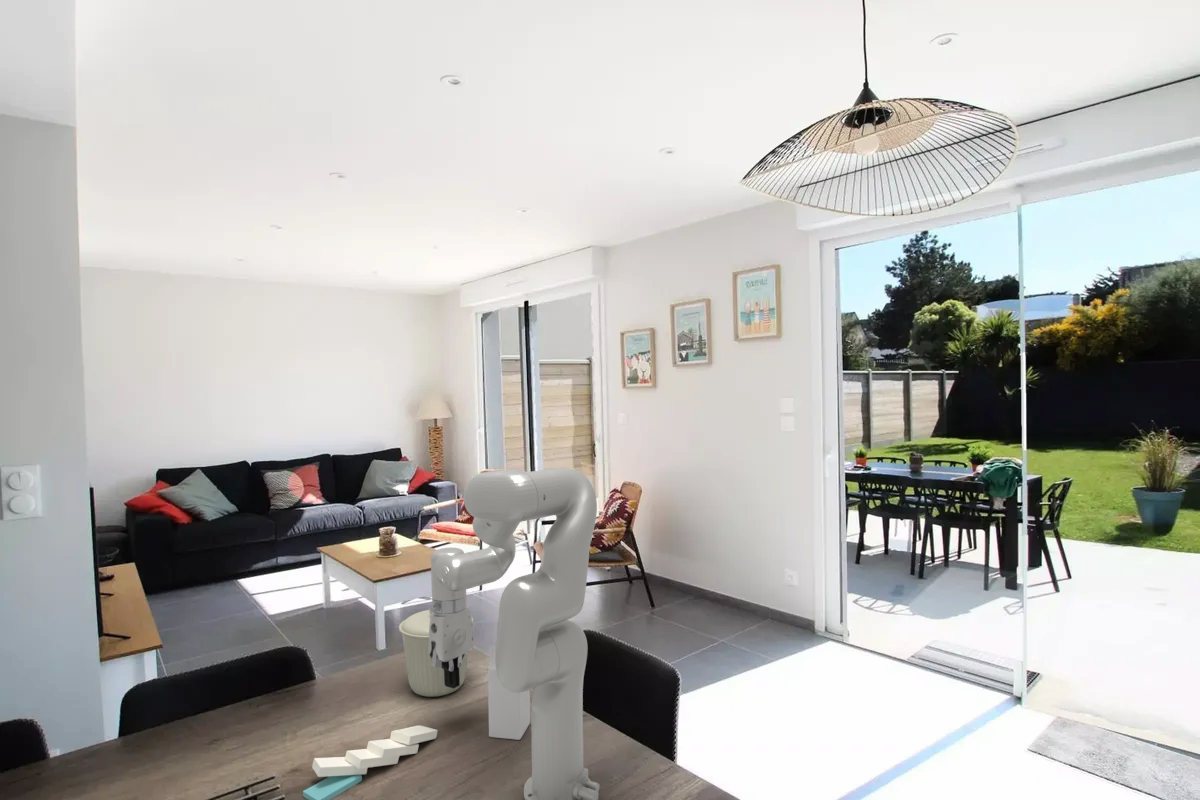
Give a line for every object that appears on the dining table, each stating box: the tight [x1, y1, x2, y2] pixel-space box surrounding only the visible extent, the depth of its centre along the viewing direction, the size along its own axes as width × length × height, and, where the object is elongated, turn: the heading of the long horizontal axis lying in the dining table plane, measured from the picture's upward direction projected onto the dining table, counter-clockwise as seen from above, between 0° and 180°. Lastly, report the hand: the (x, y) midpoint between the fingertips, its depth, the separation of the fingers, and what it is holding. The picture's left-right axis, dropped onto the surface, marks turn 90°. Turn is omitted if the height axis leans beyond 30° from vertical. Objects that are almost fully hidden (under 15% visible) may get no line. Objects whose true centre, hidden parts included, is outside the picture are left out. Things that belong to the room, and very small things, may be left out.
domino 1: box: [311, 756, 368, 778], centre depth 125 cm, size 5×2×9 cm
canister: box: [398, 607, 474, 698], centre depth 163 cm, size 18×18×21 cm
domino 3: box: [344, 748, 400, 769], centre depth 128 cm, size 5×2×9 cm
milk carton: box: [487, 642, 531, 741], centre depth 142 cm, size 7×7×19 cm
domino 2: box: [302, 774, 363, 800], centre depth 122 cm, size 5×2×9 cm
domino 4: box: [365, 738, 420, 758], centre depth 132 cm, size 5×2×9 cm
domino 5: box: [389, 724, 439, 745], centre depth 136 cm, size 5×2×9 cm
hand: (452, 685), depth 145 cm, fingers closed
